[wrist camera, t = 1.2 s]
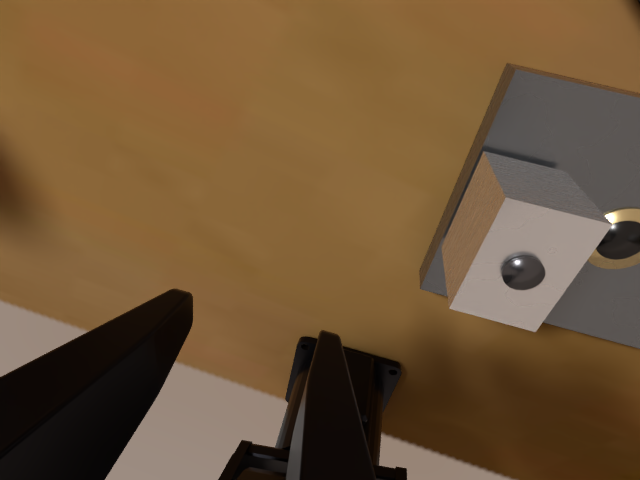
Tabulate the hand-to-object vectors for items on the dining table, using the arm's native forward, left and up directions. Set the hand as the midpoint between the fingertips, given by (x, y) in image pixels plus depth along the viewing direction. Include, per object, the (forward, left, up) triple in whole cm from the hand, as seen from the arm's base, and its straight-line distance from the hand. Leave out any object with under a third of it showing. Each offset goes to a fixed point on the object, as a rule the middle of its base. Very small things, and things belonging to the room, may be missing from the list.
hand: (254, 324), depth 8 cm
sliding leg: (0, -7, -9) cm, 11 cm away
